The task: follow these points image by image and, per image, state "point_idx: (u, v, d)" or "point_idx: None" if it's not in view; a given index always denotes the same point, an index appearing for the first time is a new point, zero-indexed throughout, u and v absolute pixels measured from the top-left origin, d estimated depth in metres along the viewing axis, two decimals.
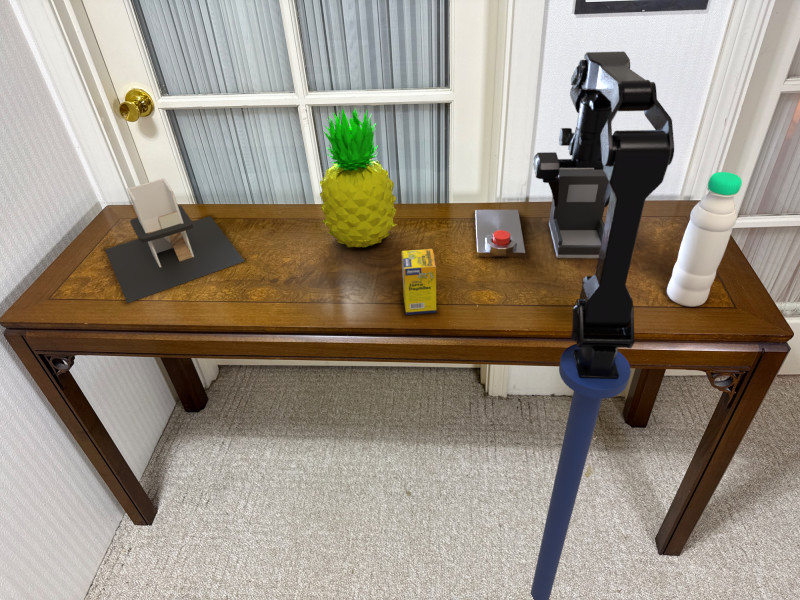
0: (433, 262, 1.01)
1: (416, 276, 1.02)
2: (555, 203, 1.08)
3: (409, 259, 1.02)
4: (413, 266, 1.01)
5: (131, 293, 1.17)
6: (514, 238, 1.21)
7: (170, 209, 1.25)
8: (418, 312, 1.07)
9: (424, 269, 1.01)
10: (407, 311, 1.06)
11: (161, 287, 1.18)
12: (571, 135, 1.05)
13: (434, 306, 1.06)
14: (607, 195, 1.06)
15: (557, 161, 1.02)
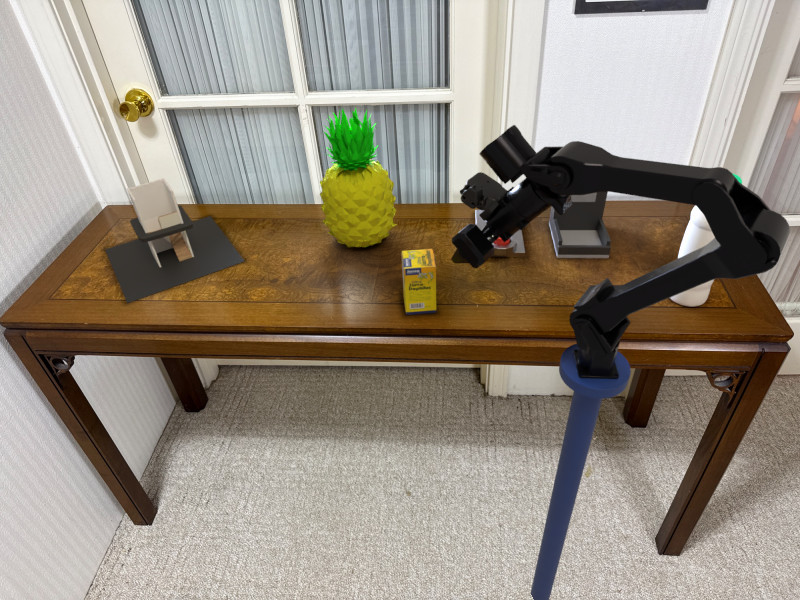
0: (433, 262, 1.01)
1: (416, 276, 1.02)
2: None
3: (409, 259, 1.02)
4: (413, 266, 1.01)
5: (131, 293, 1.17)
6: (514, 238, 1.21)
7: (170, 209, 1.25)
8: (418, 312, 1.07)
9: (424, 269, 1.01)
10: (407, 311, 1.06)
11: (161, 287, 1.18)
12: (485, 199, 0.88)
13: (434, 306, 1.06)
14: (491, 232, 1.00)
15: (491, 244, 0.88)
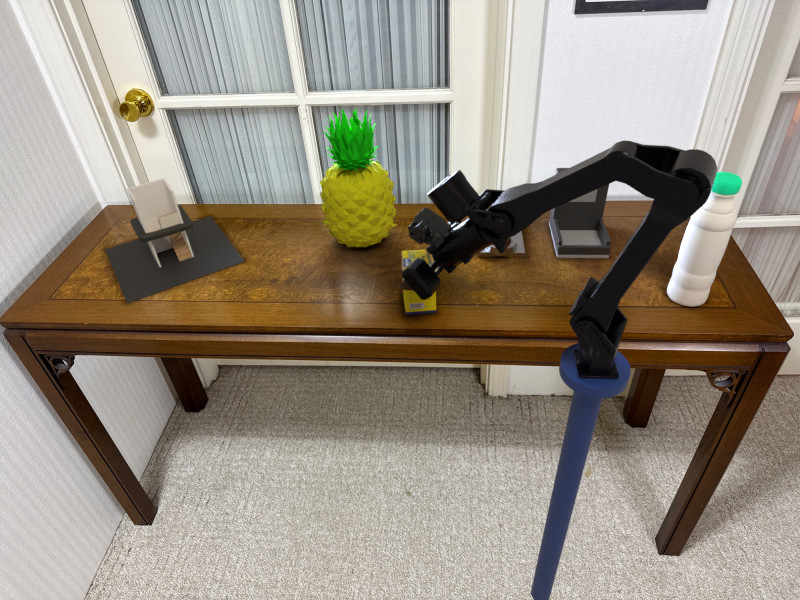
0: None
1: None
2: None
3: (409, 259, 1.02)
4: None
5: (131, 293, 1.17)
6: (514, 238, 1.21)
7: (170, 209, 1.25)
8: (418, 312, 1.07)
9: None
10: (407, 311, 1.06)
11: (161, 287, 1.18)
12: (432, 235, 0.94)
13: (434, 306, 1.06)
14: None
15: (438, 278, 0.95)
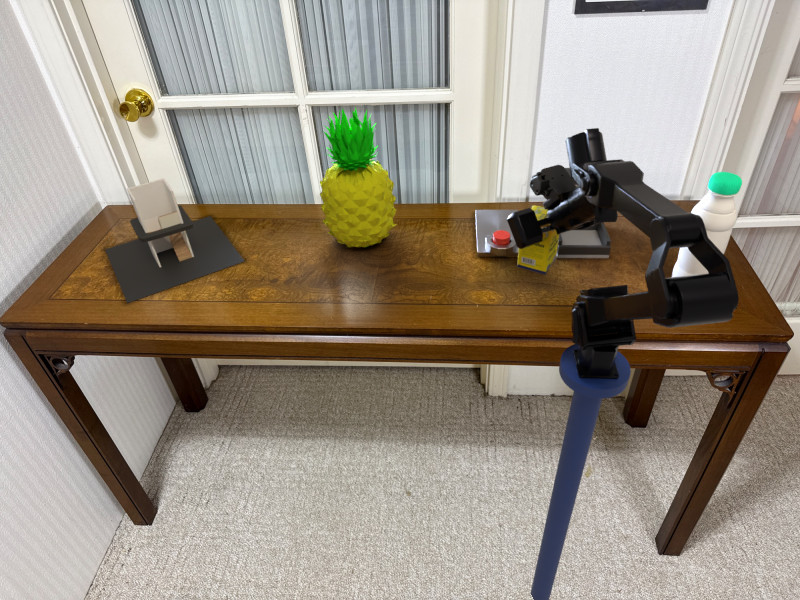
0: None
1: None
2: None
3: None
4: None
5: (131, 293, 1.17)
6: None
7: (170, 209, 1.25)
8: (528, 268, 1.08)
9: None
10: (518, 263, 1.09)
11: (160, 287, 1.18)
12: (550, 190, 0.95)
13: (544, 267, 1.06)
14: None
15: (540, 232, 0.96)
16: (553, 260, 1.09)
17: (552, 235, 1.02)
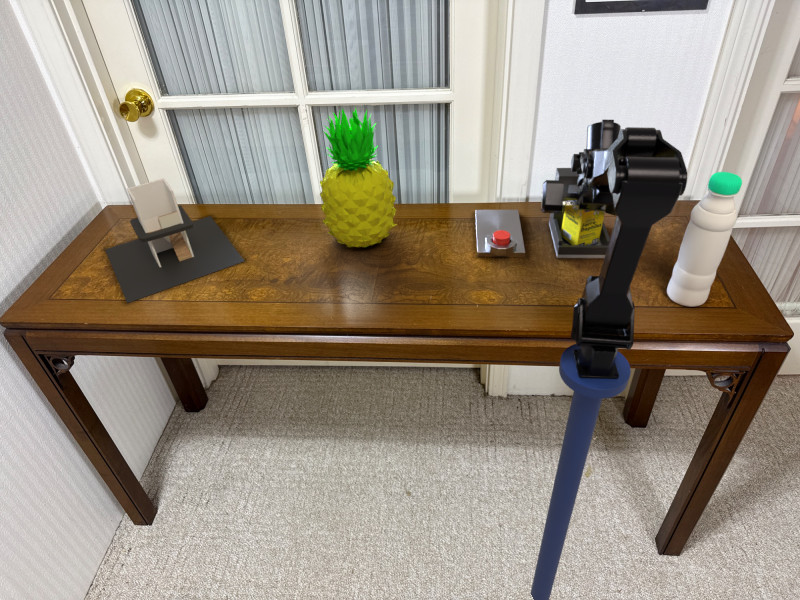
0: None
1: (572, 206, 1.17)
2: None
3: None
4: None
5: (131, 293, 1.17)
6: (514, 238, 1.21)
7: (170, 209, 1.25)
8: (566, 241, 1.22)
9: None
10: (561, 235, 1.23)
11: (160, 287, 1.18)
12: (581, 169, 1.08)
13: (576, 243, 1.19)
14: (608, 210, 1.16)
15: (561, 202, 1.10)
16: (593, 242, 1.20)
17: (585, 216, 1.14)
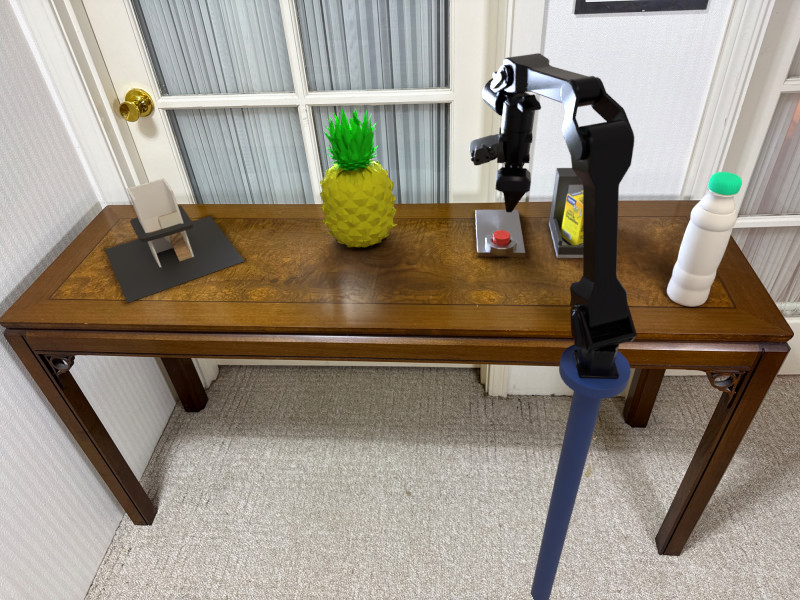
0: None
1: (572, 206, 1.17)
2: None
3: (581, 193, 1.17)
4: (574, 197, 1.16)
5: (131, 293, 1.17)
6: (514, 238, 1.21)
7: (170, 209, 1.25)
8: (566, 241, 1.22)
9: (577, 204, 1.15)
10: (561, 235, 1.23)
11: (160, 287, 1.18)
12: (492, 147, 1.05)
13: (576, 243, 1.19)
14: None
15: (523, 168, 1.03)
16: None
17: None
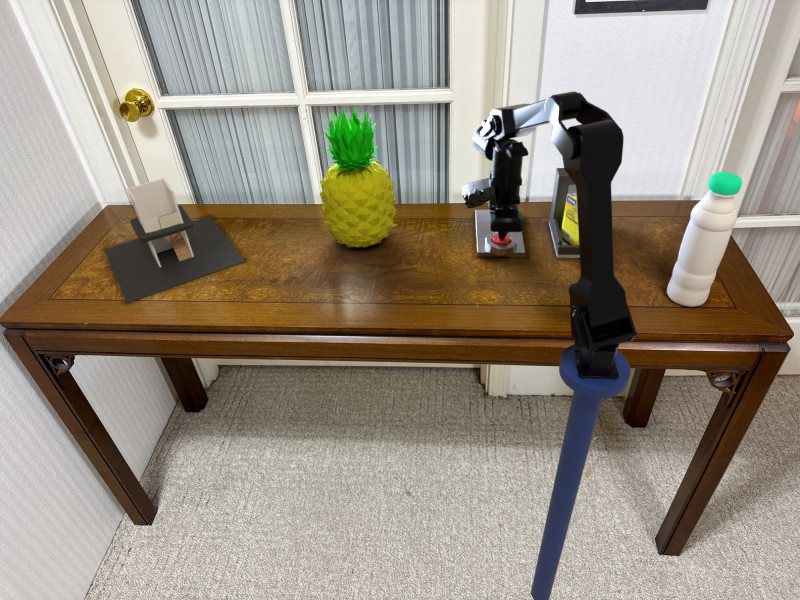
0: None
1: (572, 206, 1.17)
2: None
3: None
4: (574, 197, 1.16)
5: (131, 293, 1.17)
6: (514, 238, 1.21)
7: (170, 209, 1.25)
8: (566, 241, 1.22)
9: None
10: (561, 235, 1.23)
11: (160, 287, 1.18)
12: (484, 191, 1.11)
13: (576, 243, 1.19)
14: None
15: (515, 210, 1.09)
16: None
17: None
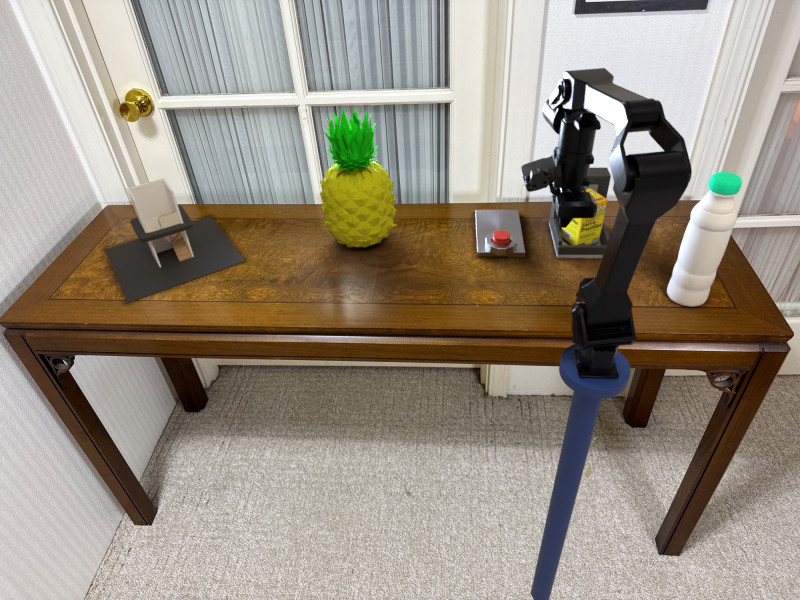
0: None
1: None
2: None
3: None
4: None
5: (131, 293, 1.17)
6: (514, 238, 1.21)
7: (170, 209, 1.25)
8: (566, 241, 1.22)
9: None
10: (561, 235, 1.23)
11: (160, 287, 1.18)
12: (549, 171, 0.95)
13: (576, 243, 1.19)
14: None
15: (586, 192, 0.94)
16: (593, 242, 1.20)
17: None
